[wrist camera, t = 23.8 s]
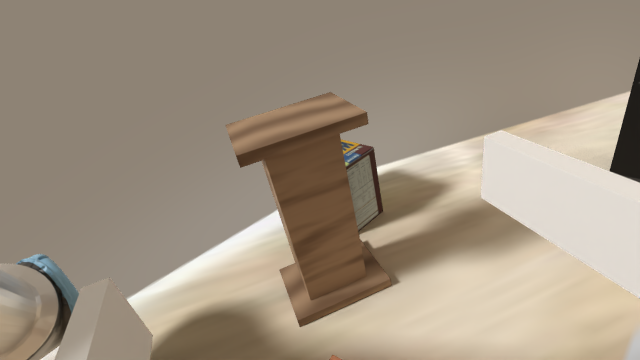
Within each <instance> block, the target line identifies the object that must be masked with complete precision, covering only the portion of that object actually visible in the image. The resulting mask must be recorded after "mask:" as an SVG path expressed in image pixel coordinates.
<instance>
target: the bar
mask: <svg viewBox="0 0 640 360" xmlns="http://www.w3.org/2000/svg"><path fill="white" fill-rule="evenodd" d="M329 360H342V359H340V358H338V357H336V356H334V355H332V356H331V358H330V359H329Z"/></svg>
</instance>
